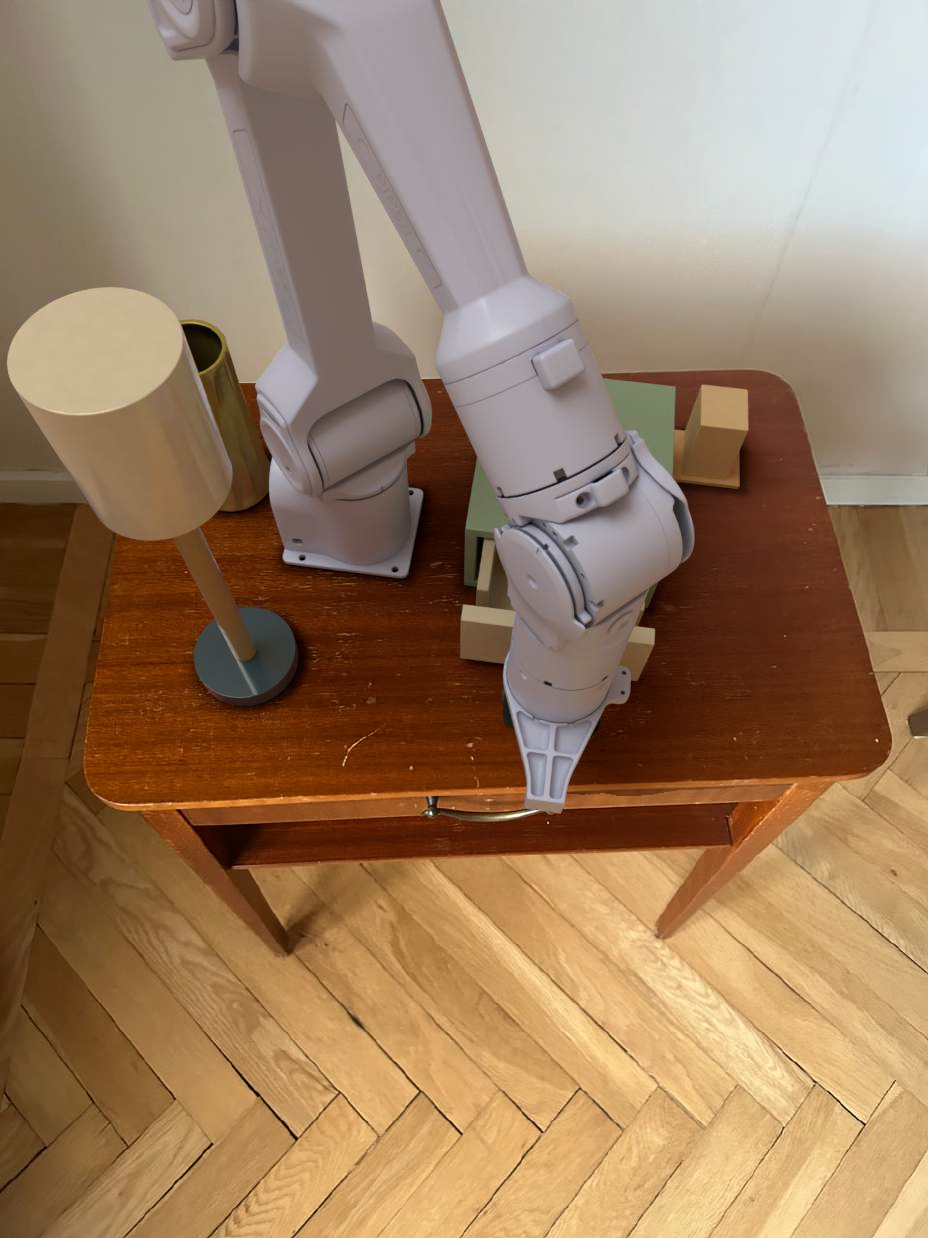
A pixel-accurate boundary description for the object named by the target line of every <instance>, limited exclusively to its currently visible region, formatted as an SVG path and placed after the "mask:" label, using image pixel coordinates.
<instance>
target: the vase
mask: <svg viewBox="0 0 928 1238" xmlns="http://www.w3.org/2000/svg"><path fill="white" fill-rule="evenodd" d="M179 321H180V323H181V326H182V328H183V331H184V334H185V337H186V339H187V342H188V345H189V348H190V350H191V353H192V356H193V359H194V361H195V364H196V367H197V370H198V372H199V375H200V378H201V381H202V383H203V386H204V389H205V392H206V395H207V397H208V400H209V403H210V406H211V408H212V411H213V414H214V417H215V419H216V422H217V425H218V428H219V430H220V433H221V436H222V439H223V441H224V444H225V447H226V450H227V452H228V455H229V458H230V461H231V465H232V473H233V475H232V484H231V488H230V491H229V493H228V496H227V498H226V500H225V502H224V503H223V505H222V506H221V507H220V509H219V510H218V511H221V512H240V511H244V510H248V509H250V508H252V507H254V506H255V505H257V504H258V503H260V502H261V501H262V500H264V498H265V497H266V496H267V495H268V494H269V474H270V466H271V461H270V460H269V459H268V457H267V456H266V453H265V450H264V447H263V442H262V440H261V437H260V434H259V432H258V429H257V426H256V424H255V420H254V418H253V415H252V413H251V409H250V407H249V405H248V401H247V399H246V397H245V394H244V392H243V389H242V387H241V384H240V381H239V378H238V375H237V371H236V368H235V365H234V361H233V358H232V354H231V352H230V348H229V346H228V342H227V339H226V336H225V334H224V333H223V332H222V331H221V330H220V328H218V327H217V326H215V325H213V323H210V322H208V321H205V320H201V319H190V318H189V319H179Z"/></svg>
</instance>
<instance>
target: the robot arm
mask: <svg viewBox="0 0 928 1238" xmlns="http://www.w3.org/2000/svg"><path fill="white" fill-rule="evenodd" d="M146 3H147V6H148V9H149V12H150V16H151V19H152V21H153V24H154V26H155V29H156V31H157V33H158V35H159V37H160V39H161V41H162V42H163V44H164V46H165V50H166V52H167V54H168V55H167V56H169V58H170V59H171V60H172V61H178V62H179V61H195V60H205V63H206V65H207V68H208V70H209V72H210V75H211V77H212V80H213V83H214V86H215V89H216V93H217V96H218V100H219V103H220V107H221V110H222V113H223V117H224V121H225V124H226V128H227V131H228V134H229V138H230V142H231V145H232V149H233V152H234V156H235V159H236V163H237V167H238V170H239V174H240V178H241V180H242V184H243V187H244V191H245V194H246V198H247V202H248V205H249V208H250V212H251V216H252V219H253V223H254V226H255V229H256V230H255V231H256V233H257V236H258V241H259V243H260V247H261V250H262V254H263V258H264V261H265V265H266V269H267V271H268V275H269V278H270V282H271V285H272V290H273V292H274V297H275V300H276V304H277V307H278V310H279V313H280V317H281V321H282V324H283V328H284V331H285V335H286V340H285V341H284V343H283V345H282V346H281V347H280V349H279V350H278V351H277V353H276V354H275V356H274V357H273V358H272V360H271V361H270V363H269V364H268V365H267V367H266V368H265V369H264V370H263V372H262V373H261V375H260V376H259V378H258V379H257V381H256V382H255V385H254V389H255V391H256V394H257V395H256V402H257V405H258V409H259V410H258V411H259V415H260V420H259V427H260V431H261V434H262V437H263V440H264V442H265V444H266V446H267V449H268V451H269V452H270V453H269V454H271V461H270V464H271V466H270V474H269V492H268V494H269V495H268V496H269V502H270V503H269V504H270V507H271V510H272V513H273V516H274V520H275V523H276V526H277V530H278V532H279V536H280V538H281V542H282V545H283V549H284V550H283V553H282V560H283V563H284V564H286V565H292V566H298V567H299V566H300V567H306V568H307V567H309V568H316V569H324V570H332V571H339V572H347V573H355V574H363V575H370V576H378V577H379V576H380V577H387V578H395V579H406V578H407V577H408V576H409V572H410V567H411V562H412V557H413V552H414V547H415V542H416V536H417V533H418V528H419V522H420V516H421V512H422V507H423V501H424V492H423V490H422V489H420V488H415V487H409V485H410V484H409V476H408V475H409V473H408V464H407V463H408V462H407V461H408V459H409V458H410V457H411V456H412V455H414V454H416V440H415V439H423V438H424V437H426V436H427V435H429V433H430V432H431V428H432V419H433V408H432V402H431V398H430V395H429V393H428V390H427V388H426V386H425V383H424V381H423V380H422V377H421V373H420V371H419V366H418V362H417V358H416V355H415V353H414V352H413V351H412V349H411V348H410V347H409V345H408V344H406V342H405V341H404V340H403V339H402V338H401V337H400V336H399V335H398V334H397V333H396V332H395V331H394V330H392V329H391V328H390V327H389V326H387V325H385V324H382V323H380V322H377V321H373V318H372V312H371V306H370V302H369V301H370V300H369V295H368V291H367V285H366V279H365V273H364V267H363V261H362V256H361V251H360V247H359V246H360V245H359V241H358V235H357V230H356V225H355V219H354V214H353V213H354V212H353V208H352V204H351V203H352V201H351V198H350V191H349V186H348V181H347V176H346V170H345V164H344V159H343V154H342V148H341V143H340V137H339V132H338V127H339V129H340V130H341V133H342V134H343V136H344V138H345V140H346V141H347V144H348V145H349V147H350V149H351V151H352V153H353V154H354V156H355V157H356V159H357V161H358V163H359V165H360V167H361V169H362V170H363V172H364V174H365V176H366V179H368V181H369V183H370V185H371V187H372V188H373V190H374V192H375V193H376V196H377V197H378V199H379V201H380V203H381V205H382V208H384V210H385V212H386V214H387V215H388V217H389V219H390V221H391V223H392V224H393V225H392V226H394V229H395V230H396V232H397V234H398V236H399V237H400V239H401V241H402V242H403V245H404V246H405V248H406V250H407V252H408V254H409V255H410V257H411V259H412V261H413V263H414V264H415V266H416V268H417V270H418V272H419V274H420V275H421V277H422V279H423V281H424V283H425V284H426V286H427V289H428V290H429V292H430V293H431V295H432V297H433V299H434V301H435V302H436V305H437V306H438V308H439V310H440V312H441V313H442V327H441V331H440V336H439V340H438V344H437V349H436V352H435V358H434V367H435V370H436V371H437V373H438V375H439V378H440V380H441V382H442V384H443V386H444V388H445V390H446V392H447V395H448V397H449V399H450V401H451V403H452V406H453V408H454V410H455V412H456V413H457V414H456V415H457V416H458V418H459V420H460V422H461V425H462V427H463V429H464V432H465V433H466V435H467V438H468V440H469V442H470V445H471V446H472V448H473V450H474V453H475V455H476V458H477V457H478V459H479V461H480V463H481V466H482V468H483V470H484V472H485V474H486V476H487V478H488V481H489V483H490V485H491V487H492V489H493V491H494V493H495V495H496V498H497V500H498V502H499V504H500V506H501V508H502V511H503V513H504V515H505V516H507V517H508V518H509V520H508V524H506V525H504V526H503V527H501V533H500V531H499V530H498V529H497V528H494V538H495V544H496V548H497V552H498V555H499V558H500V561H501V563H502V565H503V568H504V570H505V573H506V576H507V579H508V592H507V595H508V596H509V598H510V600H511V605H512V607H513V609H514V610H515V616H514V624H513V630H512V637H511V645H510V650H509V653H508V655H507V657H506V660H505V664H503V670H502V686H503V685H504V690H505V696H504V704H503V705H502V713H501V714H502V720H503V723H504V726H505V727H506V728H508V729H512V730H514V733H515V736H516V737H515V738H516V741H517V744H518V749H519V753H520V757H521V760H522V761H521V762H522V764H523V769H524V774H525V782H526V791H525V797H524V806H523V808H524V809H525V810H532V811H536V812H537V811H538V812H545V813H553V814H561V813H562V812H563V809H564V807H565V804H566V800H567V794H568V793H567V792H568V788H569V783H570V780H571V778H572V776H573V773H574V771H575V769H576V768H577V765H578V763H579V761H580V759H581V757H582V755H583V753H584V751H585V748H586V747H587V745H588V743H589V740H591V739H594V738H595V737H596V735H597V734H598V732H599V730H600V728H601V723H602V714H603V712H604V710H605V708H606V707H607V706H608V705H611V704H613V705H622V704H625V703H626V702H627V701H628V699H629V697H630V695H631V681H632V680H631V673H630V670H629V669H628V668H627V667H624V666H620V665H619V663H620V660H621V658H622V655H623V653H624V651H625V648H626V646H627V643H628V641H629V638H630V636H631V633H632V631H633V628H634V626H635V623H636V621H637V618H638V616H639V613H640V611H641V608H642V606H643V603H644V601H645V598H646V596H647V593H648V591H649V588H650V587H651V586H652V585H654V584H655V583H657V582H658V583H659V582H660V581H661V580H662V579H663V580H664V579H665V577H667V576H669V575H670V574H672V573H673V572H674V571H675V570H677V568H678V567H679V566H680V564H683V563H684V562H685V561H687V560H688V559H689V558H690V556H691V555H692V553H693V550H694V547H695V539H696V538H695V536H696V535H695V527H694V523H693V519H692V515H691V512H690V509H689V504H688V503H689V502H688V500H687V498H686V496H685V494H684V492H683V491H682V489H681V487H680V485H678V482H676V481H675V480H674V479H673V477H672V476H671V475H670V474H669V473H668V471H667V470H666V469H665V468H664V467H663V466H662V465H661V464H660V463H659V462H658V461H657V460H656V459H655V458H654V457H653V456H652V454H651V453H650V451H649V449H648V448H647V445H646V443H645V440H644V439H641V438H640V436H639V434H638V432H637V431H636V430H630V431H624V430H623V427H622V425H621V422H620V420H619V417H618V415H617V412H616V410H615V407H614V405H613V402H612V400H611V397H610V395H609V392H608V390H607V387H606V385H605V382H604V380H603V378H604V377H603V375H602V372H601V369H600V367H599V365H598V363H597V360H596V357H595V355H594V353H593V350H592V348H591V345H590V341H589V340H588V337H587V335H586V332H585V330H584V328H583V327H584V326H583V324H582V323H581V319H580V318H579V316H578V312H577V310H576V308H575V305H574V303H573V301H572V298H571V297H570V296H568V295H567V294H565V293H564V292H563V291H561V290H559V289H557V288H554V287H552V286H551V285H549V284H547V283H545V282H543V281H541V280H539V279H538V278H536V277H534V276H533V275H532V274H530V273H529V270H528V267H527V265H526V262H525V258H524V255H523V253H522V249H521V247H520V243H519V241H518V237H517V234H516V230H515V228H514V225H513V222H512V219H511V215H510V212H509V209H508V206H507V203H506V200H505V196H504V194H503V191H502V187H501V185H500V180H499V179H498V176H497V173H496V170H495V166H494V163H493V159H492V157H491V154H490V151H489V148H488V144H487V141H486V138H485V135H484V132H483V128H482V126H481V123H480V120H479V116H478V113H477V111H476V107H475V105H474V101H473V98H472V95H471V91H470V89H469V86H468V83H467V80H466V76H465V73H464V71H463V67H462V64H461V60H460V58H459V55H458V52H457V49H456V45H455V42H454V39H453V37H452V33H451V31H450V27H449V24H448V21H447V18H446V15H445V11H444V9H443V6H442V1H441V0H146ZM337 125H338V126H337ZM410 494H411V495H410ZM302 558H303V559H304V560H302ZM394 570H397V571H396V572H395V571H394Z"/></svg>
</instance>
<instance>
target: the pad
mask: <svg viewBox="0 0 928 1238" xmlns="http://www.w3.org/2000/svg"><path fill="white" fill-rule="evenodd" d="M684 432H685V430H684V429H683V430H682V429H674V453H673V479H674V480H675V481H676V483H683V484H691V485H699V486H708V487H717V488H725V489H734V490H739V488H740V487H741V485H740V484H741V483H740V477H741V475H740V451H739V452H738V455H737V457H736V459H735V461H734V463H733V465H732V468H731V470H730V472H729V474H728V476H727V479H716V478H708V477H699V476H691V475H683V474H682V459H683V435H684Z"/></svg>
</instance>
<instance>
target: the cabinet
mask: <svg viewBox="0 0 928 1238" xmlns="http://www.w3.org/2000/svg"><path fill="white" fill-rule="evenodd" d="M603 380H604V382H605V385H606V387H607V390H608V392H609V395H610V397H611V400H612V402H613V405H614V407H615V410H616V412H617V415H618V417H619V420H620V422H621V425H622V427H623V430H624V431H630V430H636V431H637V432H638V434H639V436H640V438H641V439H644V440H645V443H646V445H647V448H648V449H649V451H650V453H651V454H652V456H653V457H654V458H655V459H656V460H657V461H658V462H659V463H660V464H661V465H662V466H663V467H664V468H665V469H666V470H667V471H668V473H669V474H670V475H671V476H672V477H673V453H674V430H675V419H676V417H675V416H676V393H677V392H676V391H677V390H676V389H677V387H676V386H674V385H667V384H657V383H649V382H639V381H631V380H630V381H629V380H622V379H621V380H620V379H614V378H613V379H612V378H605V377H603ZM471 484H472V485H471V492H470V496H469V502H468V509H467V514H466V515H467V516H466V522H465V526H464V561H463V562H464V565H463V566H464V567H463V585H464V586H468V587H476V588H477V583H478V577H479V570H480V564H481V557H482V550H483V544H484V537H485V538H493V539H495V538H494V528H497V529H498V530H499V531H500V533H501V527H503V526H504V525H506V524H508V520H509V518H508V517H507V516H505V515H504V513H503V511H502V508H501V506H500V504H499V502H498V500H497V498H496V495H495V493H494V491H493V489H492V487H491V485H490V483H489V481H488V478H487V476H486V474H485V472H484V470H483V468H482V466H481V463H480V461H479V459H478V457H477V456H476V461H475V467H474V473H473V479H472V483H471ZM658 584H659V581H658V582H657V583H655V584H654V585H652V586H651V587H650V588H649V591H648V593H647V596H646V598H645V609H648V607H649V605H650V603H651V601H652V599H653V595H654V594H655V592H656V589H657V586H658Z"/></svg>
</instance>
